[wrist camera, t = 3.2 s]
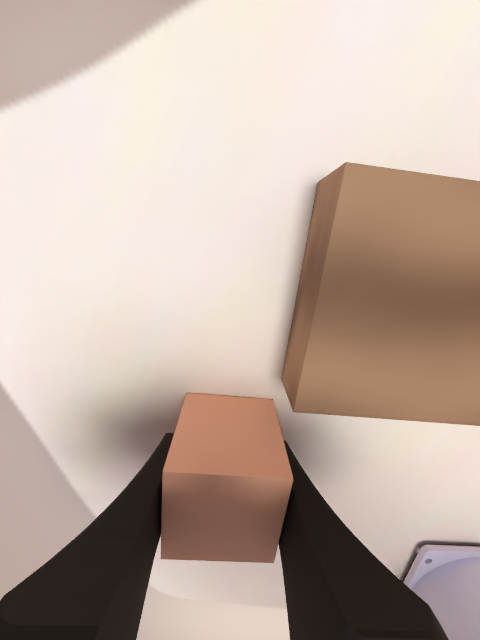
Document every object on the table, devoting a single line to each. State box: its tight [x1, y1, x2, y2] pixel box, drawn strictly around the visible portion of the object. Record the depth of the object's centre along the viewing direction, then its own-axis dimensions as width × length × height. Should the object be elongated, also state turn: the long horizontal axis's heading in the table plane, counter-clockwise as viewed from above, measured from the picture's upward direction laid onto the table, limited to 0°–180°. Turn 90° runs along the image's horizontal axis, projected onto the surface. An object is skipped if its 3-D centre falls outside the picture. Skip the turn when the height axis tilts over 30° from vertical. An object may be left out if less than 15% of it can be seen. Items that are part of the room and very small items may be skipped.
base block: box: [282, 162, 480, 426], centre depth 10 cm, size 9×9×2 cm
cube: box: [161, 393, 293, 563], centre depth 11 cm, size 4×4×4 cm
